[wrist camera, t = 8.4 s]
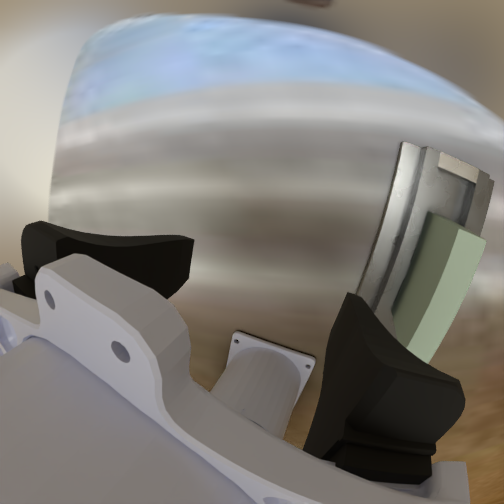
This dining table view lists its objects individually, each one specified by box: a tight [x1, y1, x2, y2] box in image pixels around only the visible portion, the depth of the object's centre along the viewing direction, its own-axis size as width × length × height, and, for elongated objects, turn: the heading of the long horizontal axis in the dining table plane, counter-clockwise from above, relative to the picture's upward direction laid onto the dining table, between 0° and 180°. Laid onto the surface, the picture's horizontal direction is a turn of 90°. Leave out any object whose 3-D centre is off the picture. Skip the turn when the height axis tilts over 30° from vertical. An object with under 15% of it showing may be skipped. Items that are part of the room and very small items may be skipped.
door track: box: [323, 141, 494, 373], centre depth 18 cm, size 20×8×2 cm, turn 168°
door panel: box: [391, 211, 486, 364], centre depth 15 cm, size 8×2×6 cm, turn 168°
